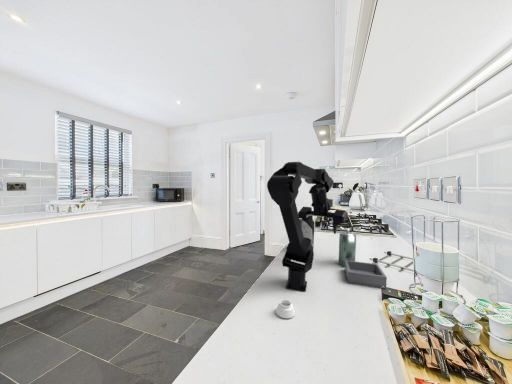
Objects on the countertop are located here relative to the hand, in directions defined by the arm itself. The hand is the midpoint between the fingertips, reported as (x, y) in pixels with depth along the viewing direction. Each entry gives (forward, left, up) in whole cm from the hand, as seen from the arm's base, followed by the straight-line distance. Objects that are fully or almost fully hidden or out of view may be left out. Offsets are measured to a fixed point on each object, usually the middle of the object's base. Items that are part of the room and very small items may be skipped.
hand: (324, 231), depth 89 cm
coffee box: (+13, +8, -14) cm, 21 cm away
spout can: (+2, -10, -14) cm, 17 cm away
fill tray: (-10, -14, -14) cm, 22 cm away
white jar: (-39, +9, -14) cm, 43 cm away
